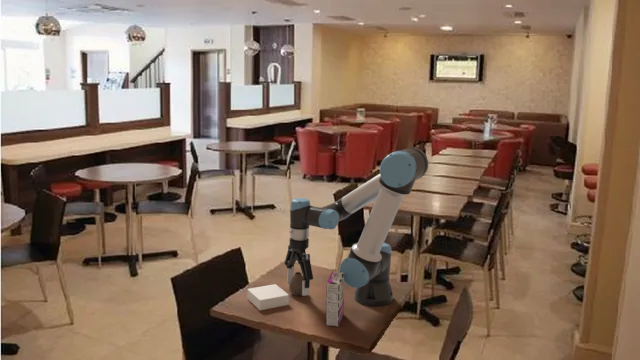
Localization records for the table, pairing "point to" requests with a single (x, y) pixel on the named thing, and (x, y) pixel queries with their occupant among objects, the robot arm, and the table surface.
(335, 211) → the robot arm
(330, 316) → the candy bar box
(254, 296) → the plinth
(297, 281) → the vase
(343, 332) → the table surface
